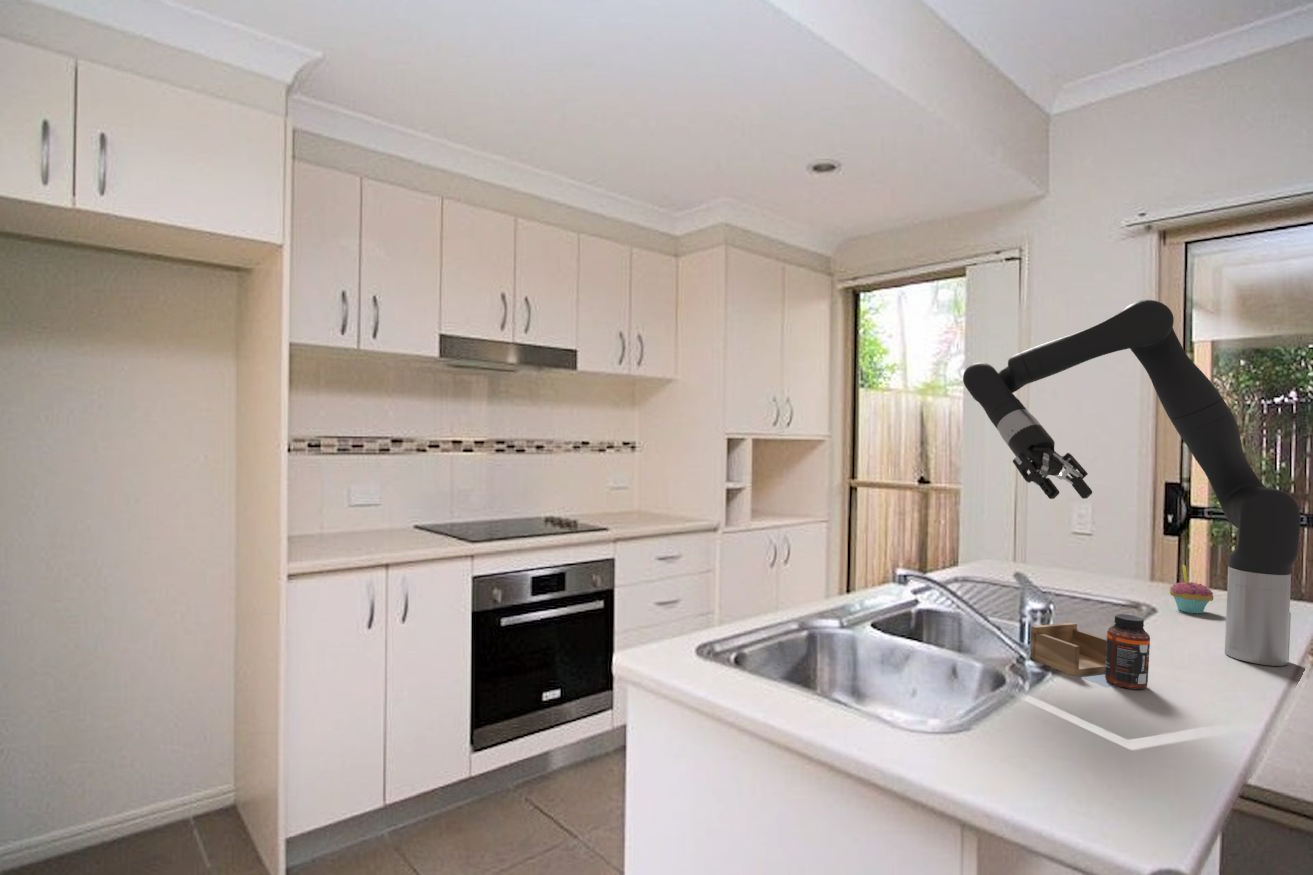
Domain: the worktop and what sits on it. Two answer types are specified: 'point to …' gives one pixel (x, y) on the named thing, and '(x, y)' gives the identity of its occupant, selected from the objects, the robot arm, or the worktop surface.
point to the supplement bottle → (1127, 653)
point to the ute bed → (1068, 649)
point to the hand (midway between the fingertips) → (1072, 496)
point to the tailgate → (1100, 680)
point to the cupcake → (1190, 595)
